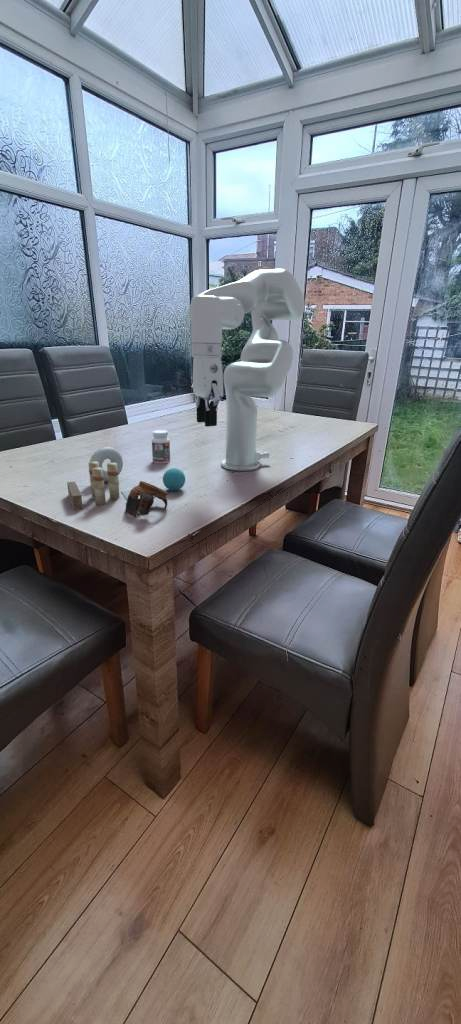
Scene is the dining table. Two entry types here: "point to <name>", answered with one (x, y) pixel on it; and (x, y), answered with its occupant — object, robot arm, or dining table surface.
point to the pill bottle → (160, 447)
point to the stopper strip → (75, 495)
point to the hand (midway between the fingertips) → (206, 423)
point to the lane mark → (126, 494)
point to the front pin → (113, 480)
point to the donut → (107, 454)
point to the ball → (174, 479)
